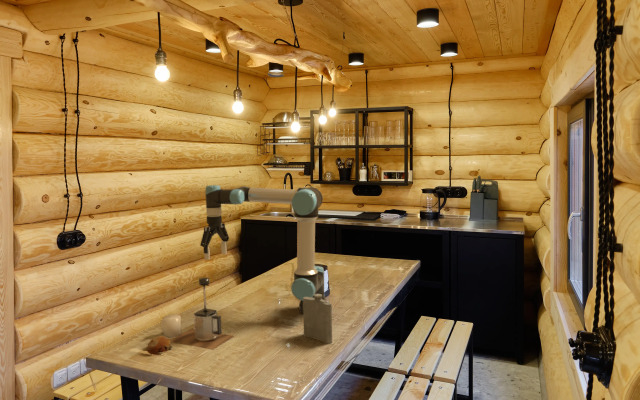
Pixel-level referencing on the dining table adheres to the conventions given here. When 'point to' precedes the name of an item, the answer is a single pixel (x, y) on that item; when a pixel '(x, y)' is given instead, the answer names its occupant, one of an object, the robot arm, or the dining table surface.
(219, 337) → the board
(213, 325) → the grey faceted handled container
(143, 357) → the dining table surface
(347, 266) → the dining table surface
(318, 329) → the grey upright slab
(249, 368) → the dining table surface
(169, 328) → the cream egg shape
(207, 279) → the plunger
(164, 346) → the bread roll
